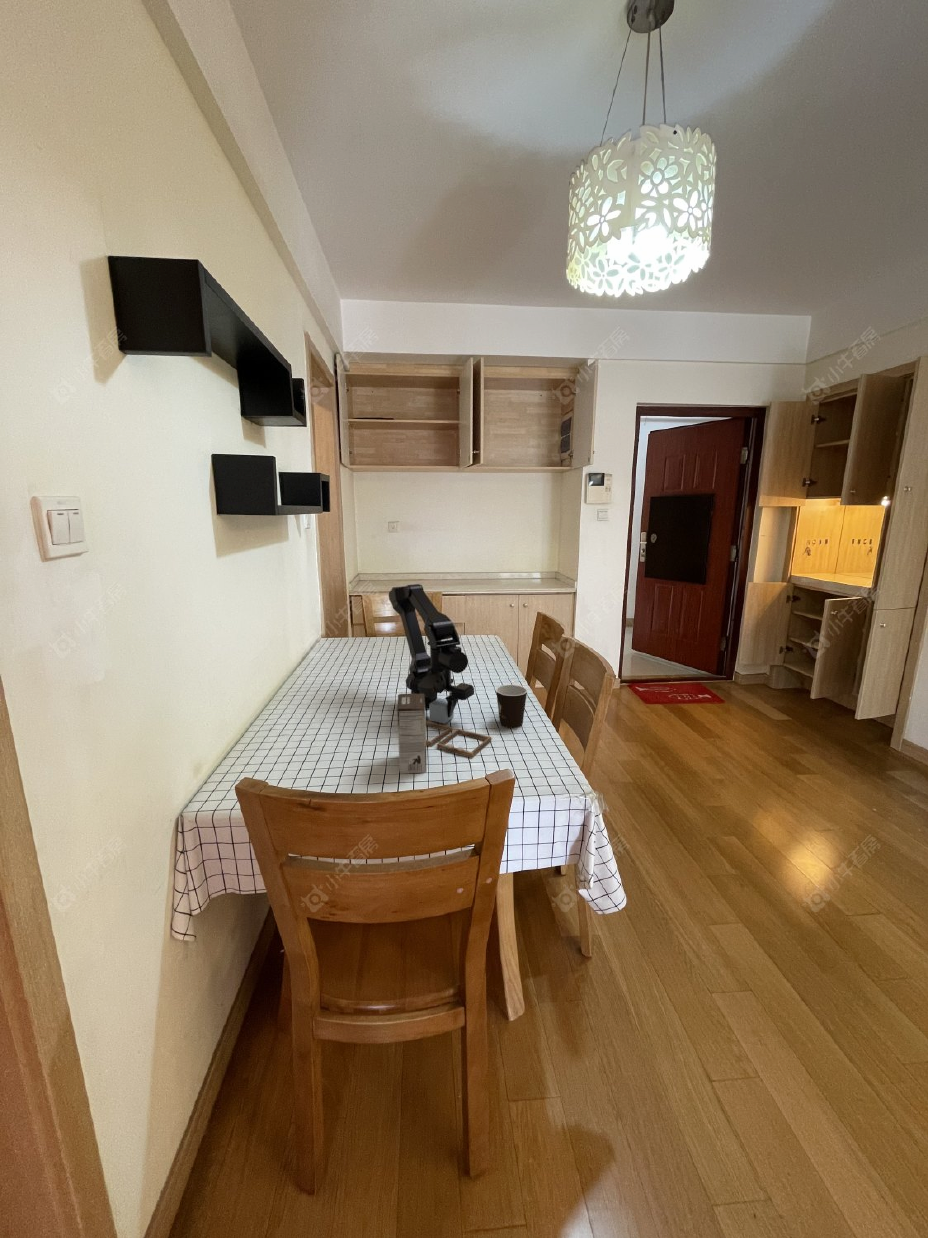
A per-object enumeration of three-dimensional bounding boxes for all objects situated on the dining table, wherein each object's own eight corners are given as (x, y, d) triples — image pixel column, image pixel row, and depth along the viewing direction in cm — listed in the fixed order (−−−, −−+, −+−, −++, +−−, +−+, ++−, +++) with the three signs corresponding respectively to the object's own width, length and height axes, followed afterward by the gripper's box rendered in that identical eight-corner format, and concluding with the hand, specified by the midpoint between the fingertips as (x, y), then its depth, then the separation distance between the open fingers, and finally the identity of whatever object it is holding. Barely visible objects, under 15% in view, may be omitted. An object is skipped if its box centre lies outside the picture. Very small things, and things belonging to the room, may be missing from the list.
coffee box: (400, 755, 119) (398, 693, 116) (426, 753, 120) (424, 692, 116) (398, 774, 110) (396, 708, 107) (427, 772, 111) (425, 707, 107)
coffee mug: (525, 731, 132) (525, 696, 129) (493, 728, 133) (494, 694, 131) (528, 714, 143) (529, 682, 141) (499, 712, 144) (499, 680, 142)
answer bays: (398, 738, 128) (398, 733, 128) (421, 723, 137) (421, 718, 137) (471, 759, 117) (471, 753, 117) (491, 741, 126) (491, 736, 126)
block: (429, 720, 138) (429, 703, 137) (439, 713, 142) (438, 697, 141) (444, 723, 136) (444, 707, 135) (453, 717, 140) (453, 701, 139)
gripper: (396, 666, 133) (398, 718, 137) (454, 677, 124) (454, 733, 128) (419, 655, 143) (421, 705, 146) (475, 665, 134) (475, 717, 137)
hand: (441, 715), depth 139 cm, fingers closed on block, 5 cm apart
